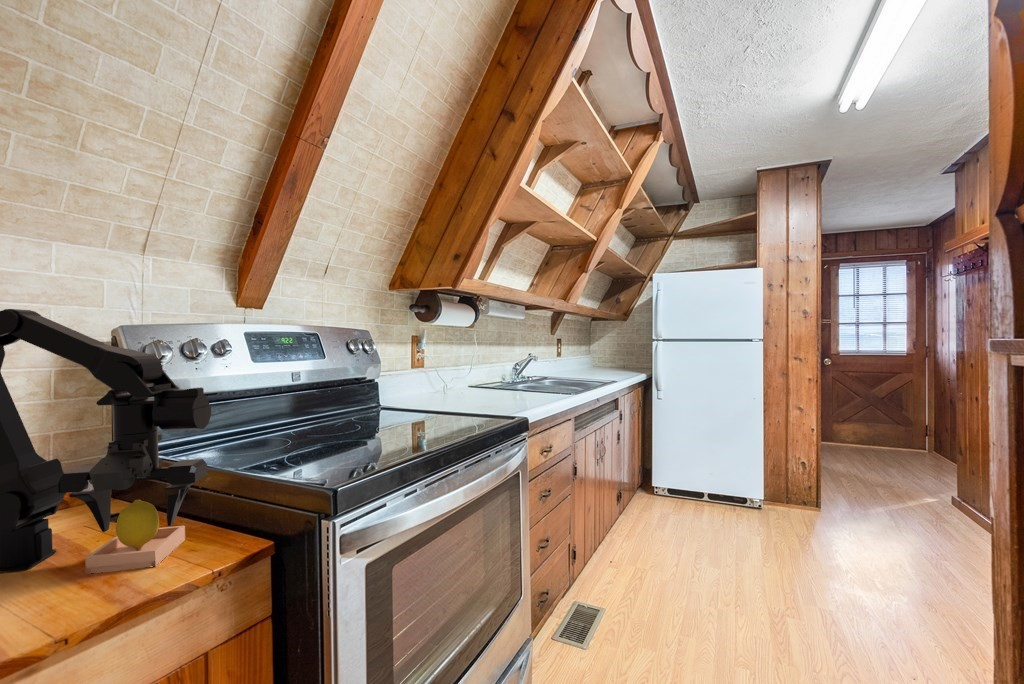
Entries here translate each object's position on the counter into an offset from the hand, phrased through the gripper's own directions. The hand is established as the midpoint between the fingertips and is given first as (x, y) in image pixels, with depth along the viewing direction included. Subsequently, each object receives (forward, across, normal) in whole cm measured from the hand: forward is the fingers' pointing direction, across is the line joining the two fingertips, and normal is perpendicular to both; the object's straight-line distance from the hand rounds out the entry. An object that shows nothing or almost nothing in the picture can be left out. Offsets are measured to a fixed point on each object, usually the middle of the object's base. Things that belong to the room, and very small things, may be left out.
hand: (138, 528), depth 79 cm
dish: (+4, 0, 0) cm, 4 cm away
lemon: (+4, 0, 0) cm, 4 cm away
